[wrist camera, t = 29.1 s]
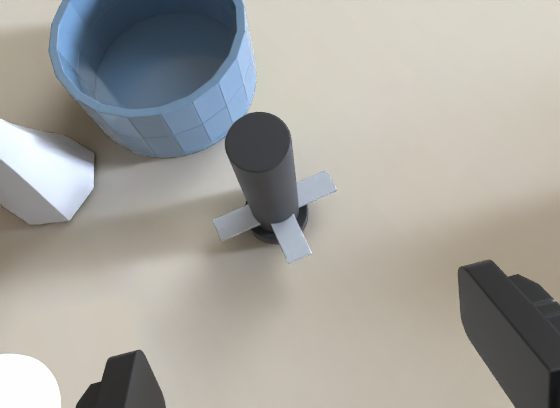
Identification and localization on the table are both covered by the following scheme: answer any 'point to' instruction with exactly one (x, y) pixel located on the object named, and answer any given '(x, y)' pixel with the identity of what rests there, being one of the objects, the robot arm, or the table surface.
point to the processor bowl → (156, 69)
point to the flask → (43, 174)
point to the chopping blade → (270, 185)
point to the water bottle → (26, 383)
